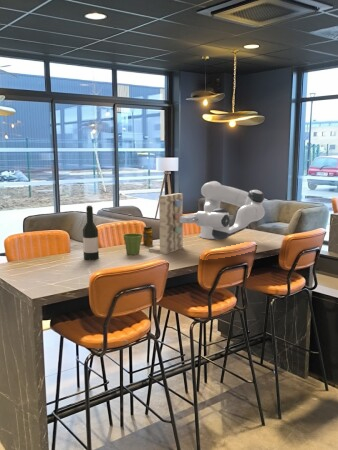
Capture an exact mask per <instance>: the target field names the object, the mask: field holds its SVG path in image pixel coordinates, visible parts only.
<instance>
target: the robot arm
mask: <svg viewBox="0 0 338 450" xmlns="http://www.w3.org/2000/svg"><path fill="white" fill-rule="evenodd" d="M200 194H201V195H202V196H203V197H204V198H205V201H204V203H203V210H198V211H197V212H194V213H193V212H192V213H190V214H183V215H182V216H180V223H183V224H195V225H196V226H197V227H200V234H198V237H199V238H202V239H207V240H208V239H209V240H217V241H222V240H226V239H228V238H229V237H231V236H233V235H235V234H237V233H240V232H242V231H244V230H246V228H247V226H249V225H250V224H255V223H257V222H258V221H260V220H261V219H263V218H264V216H265V215H266V211H265V208H264V206H263V204H264V200H265V195H264V192H262V190H261V191H260V190H258V189H251V190H249V192H248V191H246V190H243V189H239V188H237V187H233V186H229V185H228V186H227V185H223V184H222V183H220V182H218V181H216V180H212V181H209V182H206V183H204V184H203V185H202V186H201V189H200ZM221 202H223V203H226V204H231V205H233V206H237V207H238V208H239V209H238V210H237V212H236V215H235V220H234V223H233V225H231V226H230V220H231V219H230V213H229V210H227V208H221Z"/></svg>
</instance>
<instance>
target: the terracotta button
mask: <svg viewBox="0 0 338 450" xmlns="http://www.w3.org/2000/svg"><path fill="white" fill-rule="evenodd" d="M180 216H182V215H181V213H176V214H175V215H173V218H175V220H178V221H180Z"/></svg>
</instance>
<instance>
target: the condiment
mask: <svg viewBox="0 0 338 450" xmlns="http://www.w3.org/2000/svg"><path fill="white" fill-rule="evenodd" d="M153 233H154V232H153V227H152V226H149V225H148V226H144V227H143V232H142V235H143V236H142V239H143V243H141V244H140V247H144V248H145V247H155V244H154V242H153V240H154V239H153V238H154V237H153V236H154V235H153Z"/></svg>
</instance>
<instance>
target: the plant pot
mask: <svg viewBox="0 0 338 450" xmlns="http://www.w3.org/2000/svg"><path fill="white" fill-rule="evenodd" d="M122 237H123V240H124V245H125V250H126V254H127V255H130V256H134V255H140V251H141V250H140V249H141V246H140V244H142V239H143V233H135V232H134V233H124V234H122Z"/></svg>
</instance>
